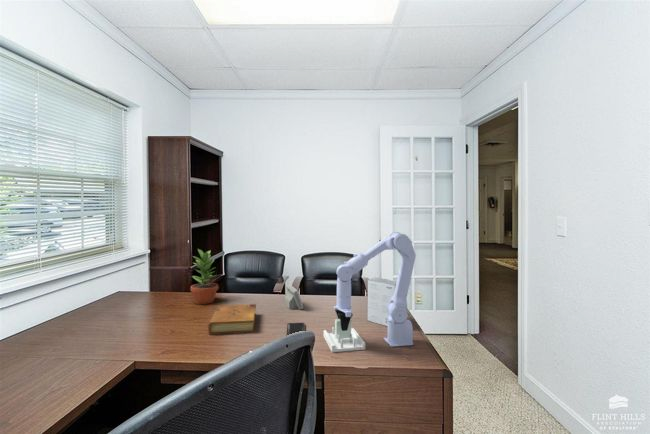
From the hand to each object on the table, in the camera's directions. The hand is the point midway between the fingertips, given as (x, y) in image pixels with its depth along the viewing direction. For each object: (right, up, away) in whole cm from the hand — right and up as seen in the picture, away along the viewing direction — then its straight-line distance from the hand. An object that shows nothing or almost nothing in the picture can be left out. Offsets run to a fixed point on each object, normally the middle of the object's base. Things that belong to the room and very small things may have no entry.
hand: (343, 328), depth 132 cm
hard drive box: (+21, -5, +23) cm, 31 cm away
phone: (-20, -6, +12) cm, 24 cm away
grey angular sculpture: (-24, -4, +47) cm, 53 cm away
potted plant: (-75, -3, +55) cm, 93 cm away
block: (0, -3, 0) cm, 3 cm away
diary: (-49, -5, +20) cm, 54 cm away
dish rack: (0, -6, 0) cm, 6 cm away
